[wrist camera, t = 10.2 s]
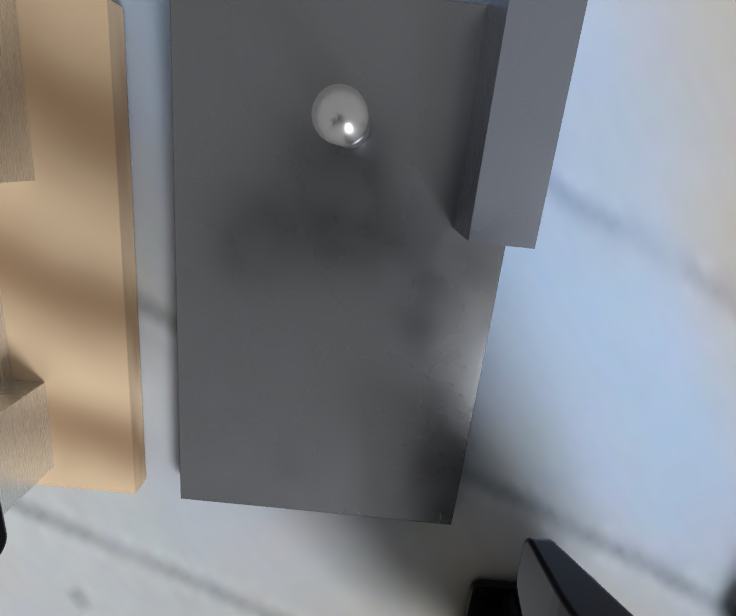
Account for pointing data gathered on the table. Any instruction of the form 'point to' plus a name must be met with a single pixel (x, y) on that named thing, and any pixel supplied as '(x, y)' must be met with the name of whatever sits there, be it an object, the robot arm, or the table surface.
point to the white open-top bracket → (3, 393)
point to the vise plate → (350, 236)
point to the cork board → (76, 245)
